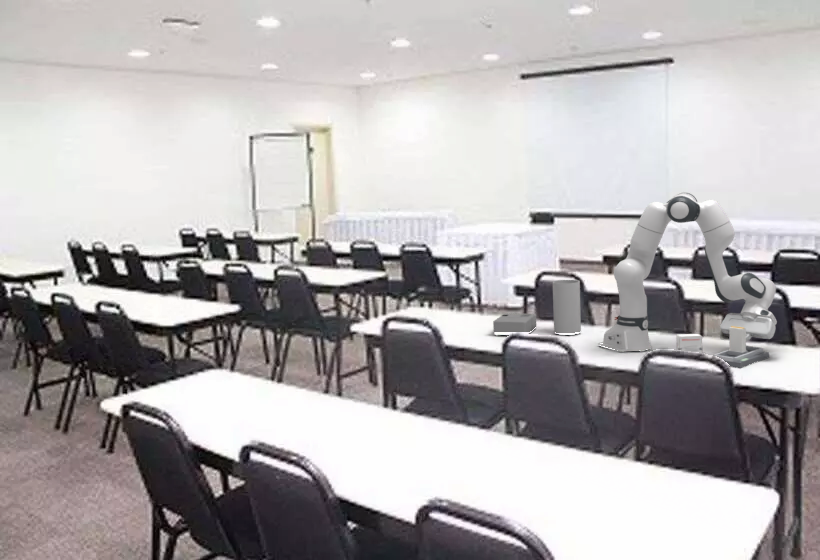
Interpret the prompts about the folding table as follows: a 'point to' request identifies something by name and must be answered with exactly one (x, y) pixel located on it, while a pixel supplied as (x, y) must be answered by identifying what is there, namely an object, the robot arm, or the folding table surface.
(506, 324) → the projector
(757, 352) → the fader console
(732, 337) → the fader knob
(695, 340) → the ink box
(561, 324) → the cylinder vase
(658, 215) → the robot arm
